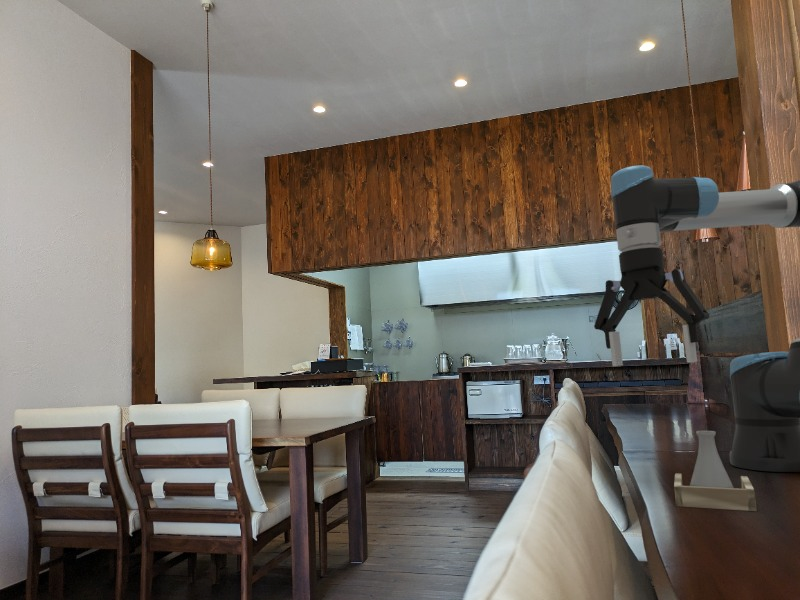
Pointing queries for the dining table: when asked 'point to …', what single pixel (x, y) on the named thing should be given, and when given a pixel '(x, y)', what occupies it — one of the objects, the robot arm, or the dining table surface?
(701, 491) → the caddy
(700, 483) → the flask
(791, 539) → the dining table surface
